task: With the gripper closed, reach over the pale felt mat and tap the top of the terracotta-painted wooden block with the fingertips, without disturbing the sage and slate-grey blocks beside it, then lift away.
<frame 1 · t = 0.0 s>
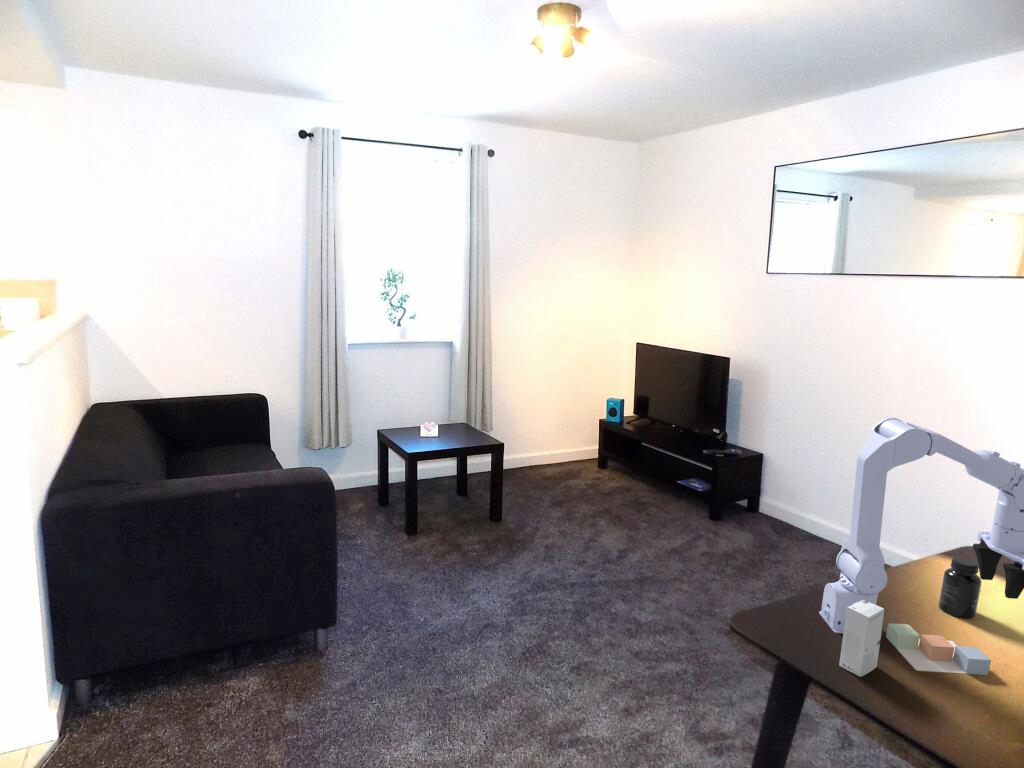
hand: (998, 588, 134), 10 cm above the table, fingers open, 7 cm apart
felt mat: (934, 656, 127), on the table
slate block: (970, 667, 123), resting on felt mat
supplement bottle: (956, 613, 144), on the table
sage block: (901, 643, 131), resting on felt mat
terracotta block: (934, 654, 127), resting on felt mat
skincare box: (857, 668, 123), on the table
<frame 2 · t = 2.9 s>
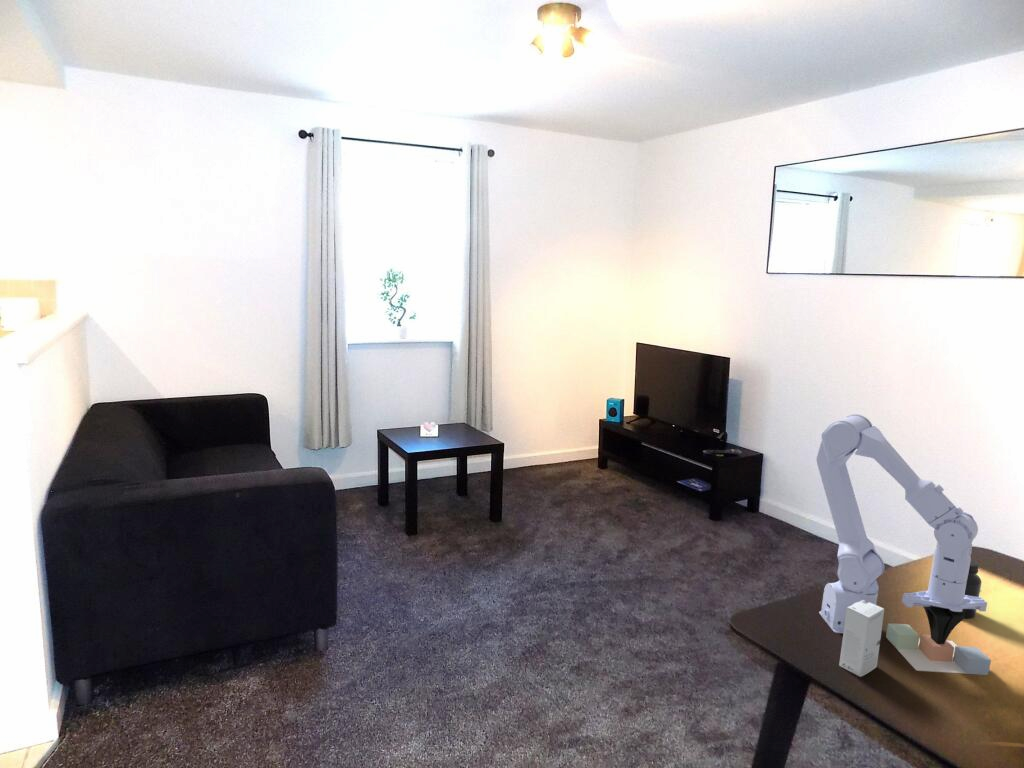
hand: (937, 641, 127), 3 cm above the table, fingers closed, pressing on terracotta block
terracotta block: (934, 654, 127), resting on felt mat, touching gripper
everything else where it was.
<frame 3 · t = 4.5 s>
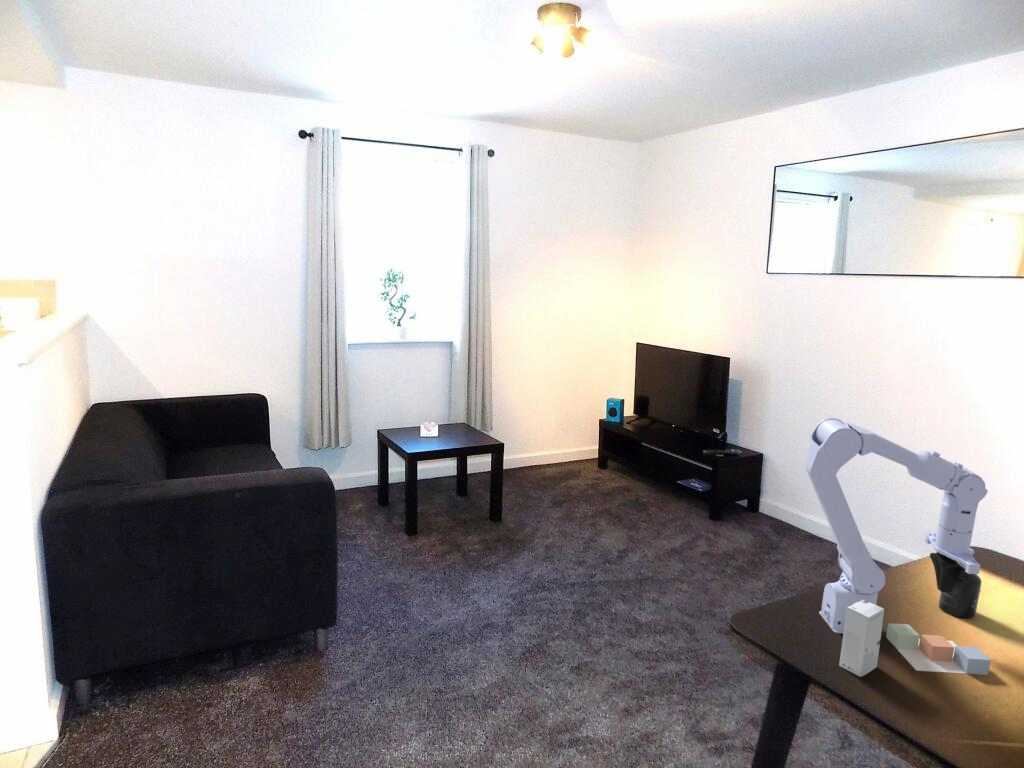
hand: (944, 590, 133), 10 cm above the table, fingers closed
terracotta block: (934, 654, 127), resting on felt mat
everything else where it was.
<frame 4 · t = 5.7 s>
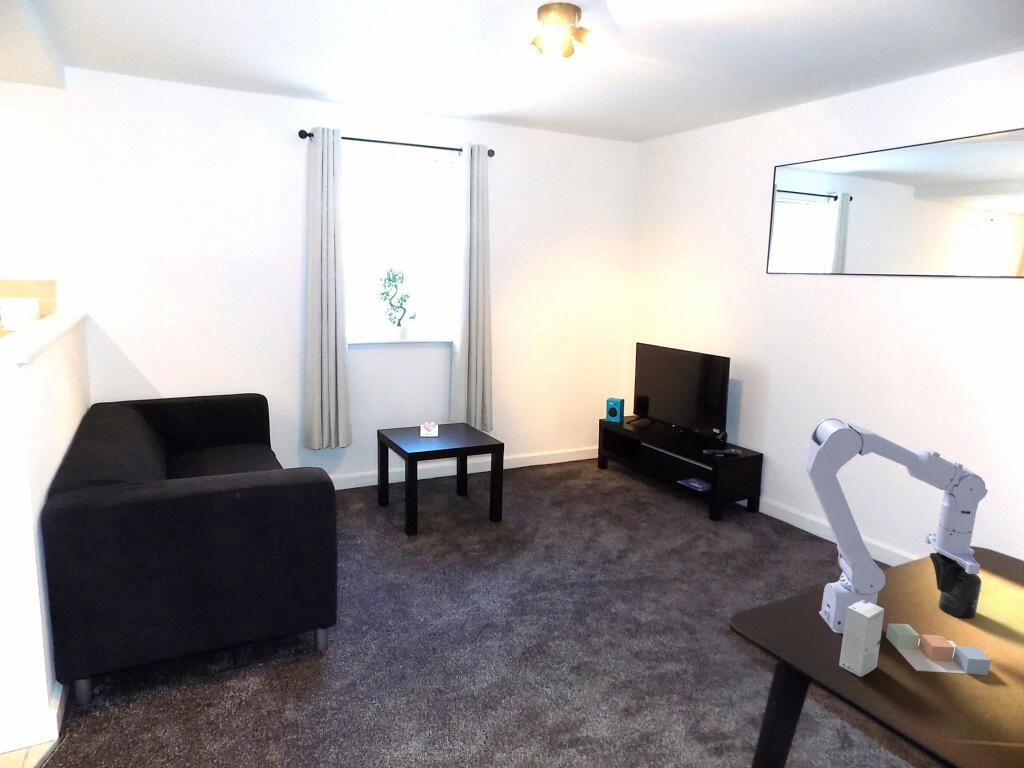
hand: (944, 590, 133), 10 cm above the table, fingers closed
nothing on the table moved.
at the end: terracotta block moved 0.0 cm from its start; sage block moved 0.0 cm from its start; slate block moved 0.0 cm from its start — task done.
